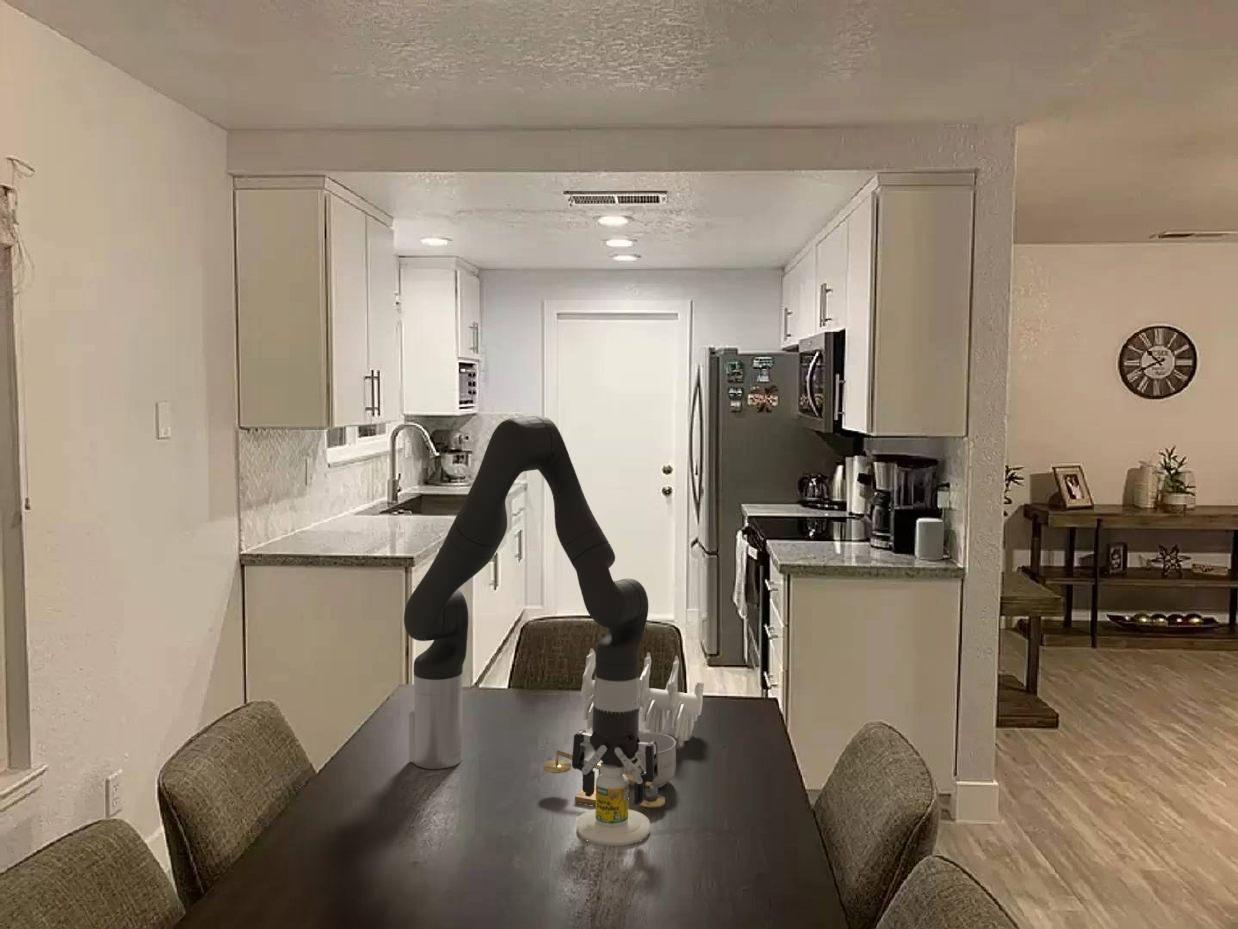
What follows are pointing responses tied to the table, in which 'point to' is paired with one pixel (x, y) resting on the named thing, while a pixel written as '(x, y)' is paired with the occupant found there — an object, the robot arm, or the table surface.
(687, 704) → the spiral staircase
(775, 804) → the table surface
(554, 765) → the balance
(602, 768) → the supplement bottle
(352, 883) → the table surface
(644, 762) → the teacup
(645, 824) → the plate
